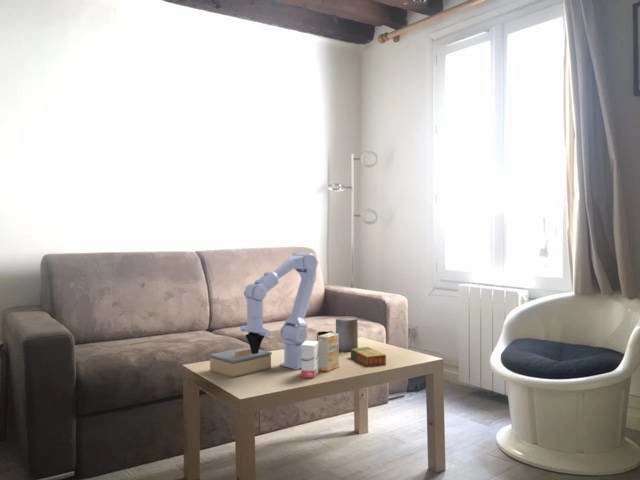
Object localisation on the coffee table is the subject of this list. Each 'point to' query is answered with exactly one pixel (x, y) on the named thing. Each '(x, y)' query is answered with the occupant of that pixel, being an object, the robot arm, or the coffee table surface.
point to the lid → (239, 355)
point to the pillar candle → (347, 332)
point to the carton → (368, 356)
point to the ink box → (309, 359)
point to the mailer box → (240, 366)
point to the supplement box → (328, 351)
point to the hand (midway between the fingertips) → (255, 353)
